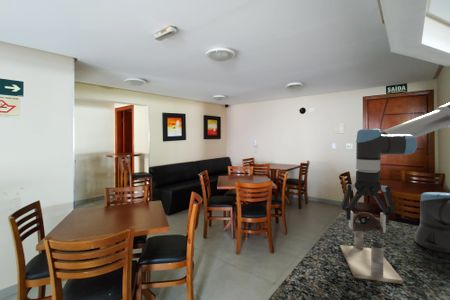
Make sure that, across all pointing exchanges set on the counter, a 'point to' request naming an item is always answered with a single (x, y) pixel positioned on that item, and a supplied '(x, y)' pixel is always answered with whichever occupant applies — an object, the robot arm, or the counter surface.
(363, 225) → the pottery mug
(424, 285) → the counter surface
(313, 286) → the counter surface
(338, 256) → the counter surface
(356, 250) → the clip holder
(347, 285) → the counter surface
